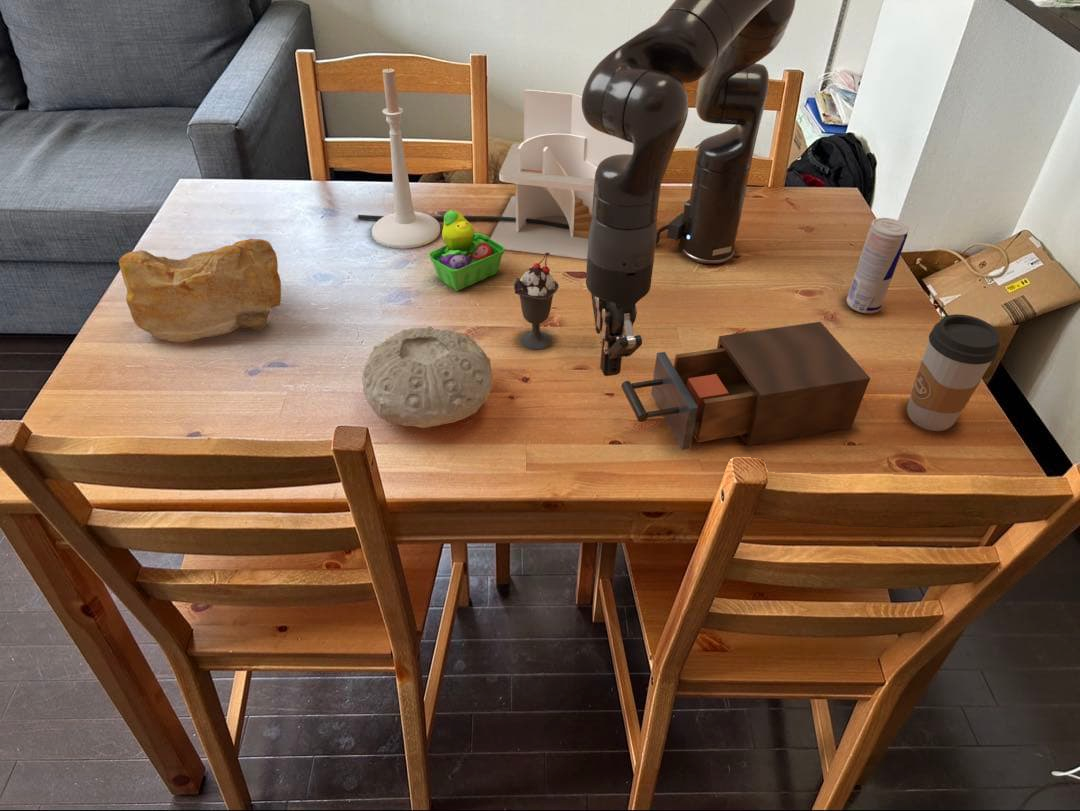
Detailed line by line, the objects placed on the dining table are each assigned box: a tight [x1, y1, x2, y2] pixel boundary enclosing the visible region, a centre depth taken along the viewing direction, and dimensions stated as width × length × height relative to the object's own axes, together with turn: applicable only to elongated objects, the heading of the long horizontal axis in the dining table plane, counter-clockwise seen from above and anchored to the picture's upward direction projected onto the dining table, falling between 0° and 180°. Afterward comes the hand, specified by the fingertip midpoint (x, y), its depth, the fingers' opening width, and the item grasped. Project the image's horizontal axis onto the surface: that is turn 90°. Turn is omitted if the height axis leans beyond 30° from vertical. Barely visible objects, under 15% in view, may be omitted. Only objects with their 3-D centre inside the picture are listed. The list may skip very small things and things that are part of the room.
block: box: [686, 374, 729, 421], centre depth 107 cm, size 4×4×4 cm
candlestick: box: [371, 66, 441, 250], centre depth 139 cm, size 13×13×30 cm
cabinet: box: [716, 321, 871, 448], centre depth 109 cm, size 16×13×9 cm
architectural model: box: [489, 89, 633, 260], centre depth 142 cm, size 28×21×23 cm
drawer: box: [620, 347, 758, 451], centre depth 106 cm, size 20×12×7 cm, turn 104°
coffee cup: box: [906, 314, 1001, 432], centre depth 106 cm, size 8×8×15 cm
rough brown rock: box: [118, 238, 282, 343], centre depth 123 cm, size 23×17×15 cm
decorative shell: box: [361, 326, 493, 429], centre depth 108 cm, size 18×18×10 cm
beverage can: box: [846, 217, 910, 314], centre depth 127 cm, size 6×6×15 cm
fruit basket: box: [428, 209, 506, 292], centre depth 133 cm, size 11×9×11 cm
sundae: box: [513, 253, 560, 351], centre depth 118 cm, size 7×7×15 cm
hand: (609, 372), depth 99 cm, fingers closed
